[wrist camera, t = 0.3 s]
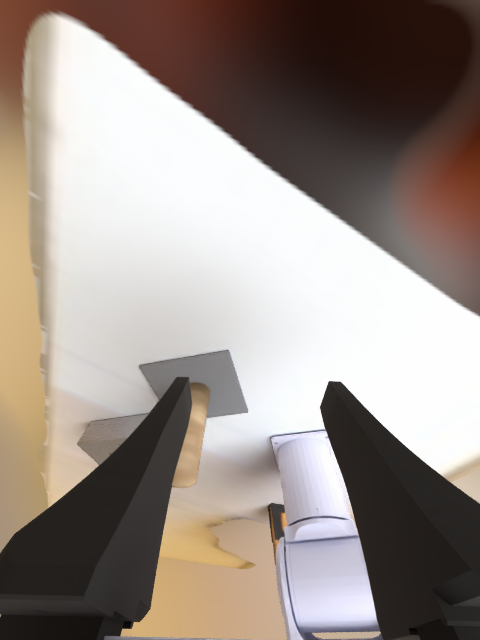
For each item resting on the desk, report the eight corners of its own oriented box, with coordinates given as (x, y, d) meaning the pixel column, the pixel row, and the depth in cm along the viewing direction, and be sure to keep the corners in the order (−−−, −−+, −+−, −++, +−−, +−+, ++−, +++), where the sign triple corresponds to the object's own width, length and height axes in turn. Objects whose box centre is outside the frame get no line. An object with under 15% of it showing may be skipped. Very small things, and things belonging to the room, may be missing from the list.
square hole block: (187, 453, 33) (182, 475, 30) (127, 459, 34) (117, 481, 32) (160, 411, 28) (152, 434, 25) (91, 421, 29) (76, 444, 27)
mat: (247, 410, 28) (247, 412, 27) (173, 420, 29) (173, 422, 29) (228, 350, 23) (228, 351, 22) (140, 365, 24) (139, 367, 24)
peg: (213, 398, 26) (201, 486, 18) (189, 401, 26) (167, 489, 19) (206, 380, 24) (189, 468, 17) (180, 384, 25) (153, 472, 17)
